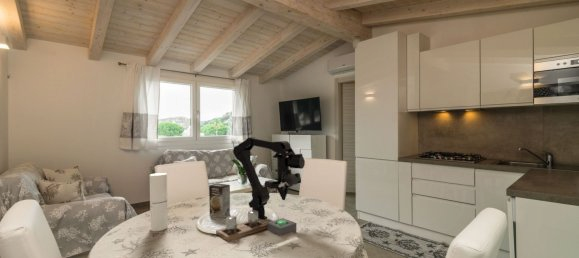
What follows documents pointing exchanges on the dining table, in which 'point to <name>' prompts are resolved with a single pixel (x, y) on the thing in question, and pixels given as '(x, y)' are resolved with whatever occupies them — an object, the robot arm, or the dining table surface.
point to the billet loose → (252, 218)
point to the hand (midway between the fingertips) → (283, 199)
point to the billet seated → (231, 225)
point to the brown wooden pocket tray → (241, 230)
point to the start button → (281, 222)
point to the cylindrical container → (158, 201)
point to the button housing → (281, 227)
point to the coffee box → (219, 200)
